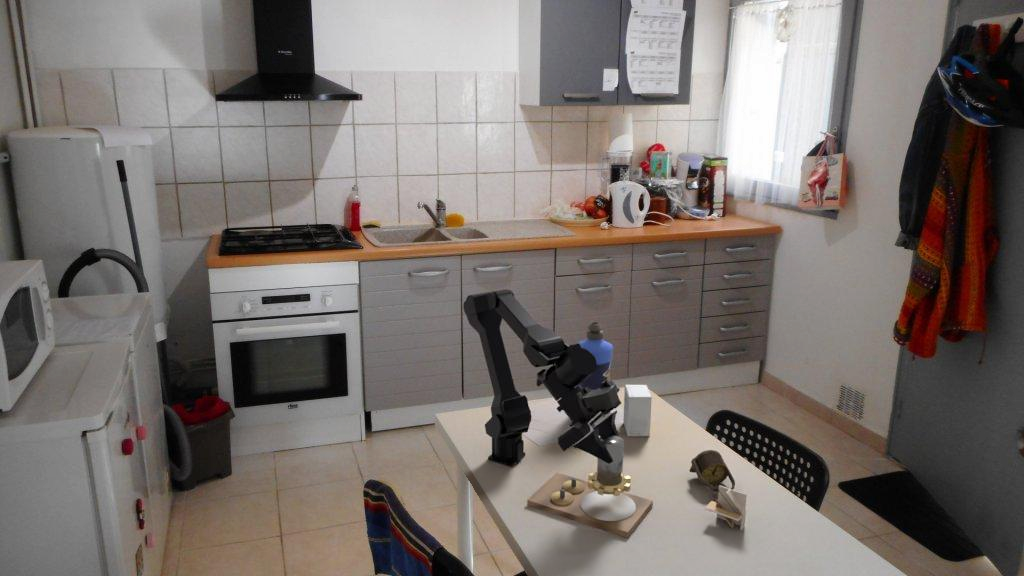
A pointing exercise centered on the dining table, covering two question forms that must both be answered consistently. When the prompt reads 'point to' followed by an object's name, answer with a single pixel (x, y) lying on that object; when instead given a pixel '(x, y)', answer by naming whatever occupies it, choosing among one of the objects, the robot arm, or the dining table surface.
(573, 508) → the gear board
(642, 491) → the dining table surface
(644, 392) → the small box
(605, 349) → the water bottle
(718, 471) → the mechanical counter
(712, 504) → the architectural model
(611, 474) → the loose gear
